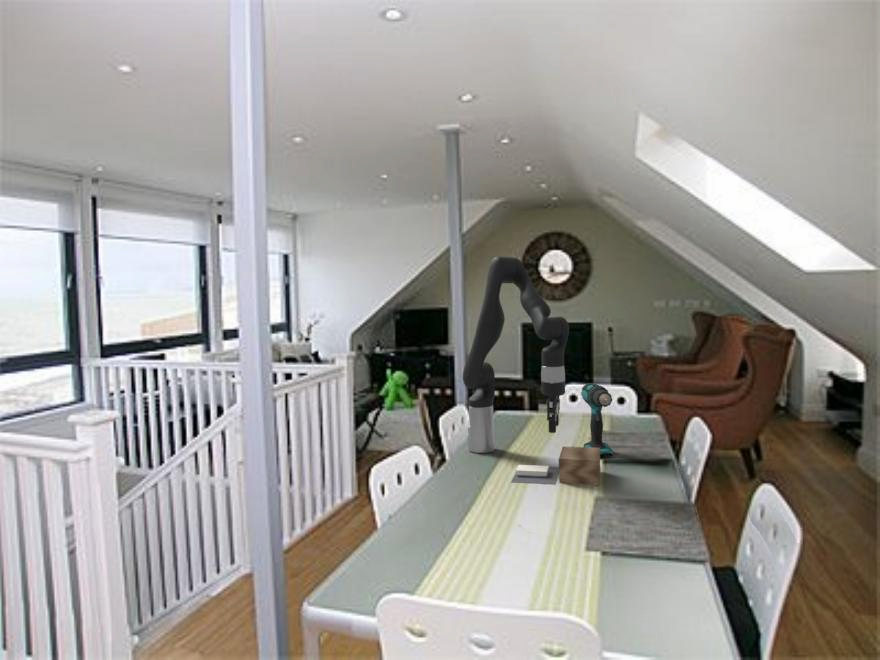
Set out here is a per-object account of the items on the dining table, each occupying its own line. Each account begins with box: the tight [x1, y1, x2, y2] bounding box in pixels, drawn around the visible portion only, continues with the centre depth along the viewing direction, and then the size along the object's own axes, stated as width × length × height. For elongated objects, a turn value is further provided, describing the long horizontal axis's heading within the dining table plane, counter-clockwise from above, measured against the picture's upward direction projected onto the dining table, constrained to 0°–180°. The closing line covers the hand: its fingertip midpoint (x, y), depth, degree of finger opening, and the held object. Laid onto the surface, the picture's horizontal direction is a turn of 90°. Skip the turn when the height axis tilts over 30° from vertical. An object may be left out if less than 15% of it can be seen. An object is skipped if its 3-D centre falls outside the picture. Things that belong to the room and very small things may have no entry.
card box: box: [515, 464, 550, 477], centre depth 203 cm, size 10×6×2 cm, turn 74°
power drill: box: [580, 382, 613, 455], centre depth 223 cm, size 26×9×25 cm, turn 179°
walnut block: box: [558, 446, 601, 487], centre depth 199 cm, size 12×14×8 cm
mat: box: [510, 465, 559, 486], centre depth 203 cm, size 14×18×1 cm
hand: (553, 429), depth 200 cm, fingers open, 8 cm apart
